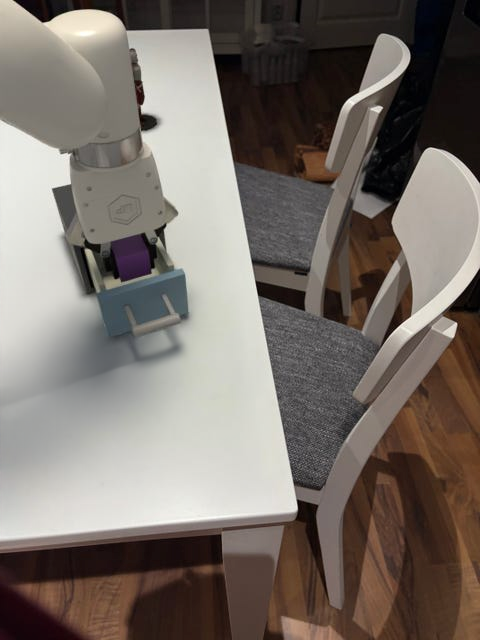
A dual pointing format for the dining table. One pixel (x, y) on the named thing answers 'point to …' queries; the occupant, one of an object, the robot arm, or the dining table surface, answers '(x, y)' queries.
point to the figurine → (140, 93)
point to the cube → (131, 257)
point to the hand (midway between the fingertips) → (131, 266)
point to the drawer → (139, 296)
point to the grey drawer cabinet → (67, 214)
